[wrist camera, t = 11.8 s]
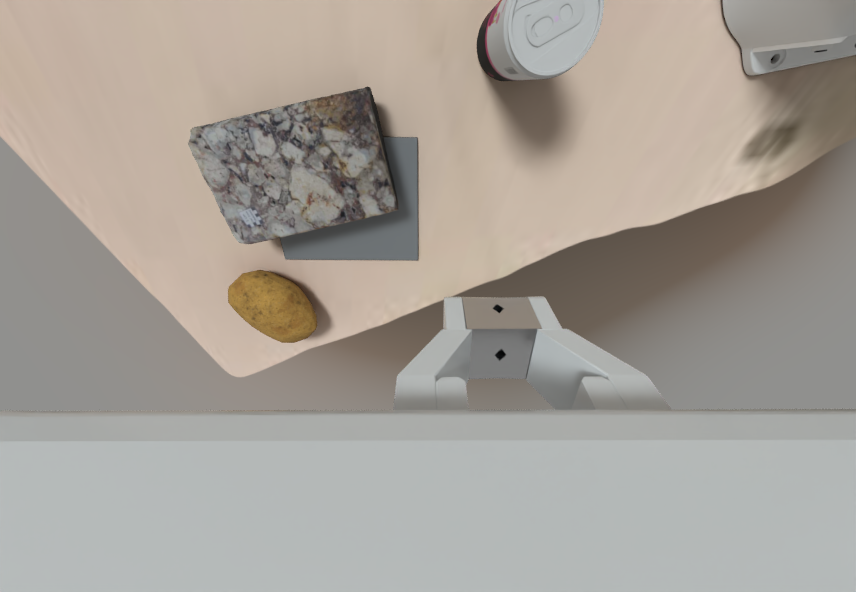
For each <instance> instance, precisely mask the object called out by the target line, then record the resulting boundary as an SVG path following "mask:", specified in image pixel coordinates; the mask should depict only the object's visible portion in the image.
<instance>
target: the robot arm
mask: <svg viewBox="0 0 856 592" xmlns="http://www.w3.org/2000/svg"><path fill="white" fill-rule="evenodd" d="M723 11H724V17H725V20H726V23H727V26H728V28H729V30H730V32H731V33H732V35H733V36H734V37H735V39H736V40H737V41H738V43H739V45H740V46H741V49H742V59H743V67H744V70H745V72H746V74H748V75H751V76H752V75H759V74H764V73H769V72H774V71H779V70H784V69H789V68H794V67H799V66H804V65H809V64H814V63H819V62H824V61H829V60H833V59H838V58H843V57H848V56H853V55H856V0H723ZM773 56H774V59H773V61H772V62H771V58H772V57H773ZM443 324H444V325H443V330H441V331H440V332H439V333H438V334H437V335H436V336H435V337H434V338H433V339H432V340H431V341H430V343H428V345H426V346H425V348H424V349H423V350H422V351H421V352H420V353H419V354H418V355H417V356H416V357H415V358H414V359H413V360H412V361H411V362H410V363H409V364H408V365H407V366H406V367H405V368H404V369H403V370H402V371H401V373H399V375H398V376H397V383H396V391H395V399H394V409H393V410H291V411H290V410H283V411H282V410H274V411H270V410H265V411H263V410H258V411H256V410H255V411H254V410H252V411H13V410H12V411H10V410H9V411H8V410H1V411H0V592H856V409H730V410H729V409H711V410H710V409H705V410H703V409H696V410H695V409H693V410H692V409H690V410H689V409H686V410H683V409H682V410H681V409H680V410H675V409H674V410H673V409H671V408H670V406H669V405H668V404H667V402H666V401H665V400H664V398H663V397H662V395H661V394H660V393H659V391H658V390H657V389H656V387H655V386H654V385H653V384H652V382H651V381H650V379H649V378H648V377H647V375H645V374H643V373H642V372H640V371H638V370H636V369H635V368H633V367H631V366H629V365H628V364H626V363H625V362H623V361H621V360H619V359H618V358H616V357H614V356H613V355H611V354H609V353H608V352H606V351H604V350H602V349H601V348H599V347H597V346H596V345H594V344H592V343H591V342H588V341H587V340H585V339H584V338H582V337H580V336H579V335H577V334H575V333H574V332H572V331H570V330H568V329H562V327H561V325H560V324H559V322H558V320H557V318H556V316H555V315H554V313H553V311H552V309H551V307H550V305H549V304H548V302H547V300H546V298H545V297H543V296H539V297H538V296H537V297H514V298H492V297H491V298H490V297H445V298H444V323H443ZM483 378H512V379H526V380H527V381H528V382H529V383H530V384H531V385H532V386H533V387H534V388H535V389H536V391H538V393H539V394H541V395H542V396H543V398H544V399H546V401H547V402H548V403H549V404H550V405H551V406H552V407H553V408H555V410H469V408H468V400H467V393H466V383H467V382H468V379H483Z"/></svg>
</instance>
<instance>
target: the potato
mask: <svg viewBox="0 0 856 592" xmlns="http://www.w3.org/2000/svg"><path fill="white" fill-rule="evenodd" d="M228 302H229V304H230V305H231V306H232V307H233V309H234V310H235V311H236V312H237V313H238V314H239V315H240V316H241V317H242V318H243V319H244V320H245V321H246V322H248V323H249V324H250V325H251V326H252V327H254V328H255V329H257V330H259V331H260V332H262V333H264V334H265V335H267V336H269V337H271V338H273V339H275V340H277V341H280V342H282V343H294V342H297V341H300V340H303V339H306V338H308V337H309V336H310V335H311V334H312V333H313V331H314V330H315V329H316V327H317V319H316V314H315V312H314V309H313V307H312V305H311V303H310V301H309V300H308V299H307V297H306V296H305V294H304V293H303V292H302V290H301V289H300V288H299V287H298V286H297V285H296V284H294V283H293V282H291V281H290V280H287V279H285V278H283V277H280V276H278V275H276V274H274V273H272V272H268V271H263V270H257V271H252V272H248V273H244V274H242V275H241V276H240V277H239V278H238V279H237V280H235V281H234V282H233V283H232V284H231V285H230V286H229V289H228Z"/></svg>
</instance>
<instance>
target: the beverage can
mask: <svg viewBox="0 0 856 592" xmlns="http://www.w3.org/2000/svg"><path fill="white" fill-rule="evenodd" d="M603 8H604V0H500V1H499V3H498V4H497V5H496V6H495V7H494V8H493V9H492V10H491V12H490V13H489V14H488V15H487V16H486V18H485V19H484V21H483V23H482V25H481V27H480V30H479V34H478V38H477V54H478V59H479V62H480V64H481V66H482V68H483V69H484V71H485V72H486V73H487V74H488V75H489V76H490V77H492V78H494V79H496V80H499V81H515V80H533V79H548V78H553V77H556V76H559V75H561V74H563V73H565V72H566V71H568V70H569V69H571V68H572V67H573V66H574V65H576V64H577V63H578V62H579V61H580V60H581V59H582V58H583V56H584V55H585V54H586V53H587V51H588V50H589V49H590V47H591V45H592V44H593V42H594V40H595V38H596V36H597V33H598V31H599V28H600V25H601V21H602V16H603Z"/></svg>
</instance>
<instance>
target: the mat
mask: <svg viewBox="0 0 856 592" xmlns="http://www.w3.org/2000/svg"><path fill="white" fill-rule="evenodd" d="M383 138H384V142H385V146H386V151H387V156H388V160H389V165H390V169H391V172H392V176H393V181H394V186H395V190H396V194H397V199H398V204H399V206H398V210H396V211H392V212H389V213H385V214H382V215H377V216H372V217H368V218H365V219H361V220H356V221H351V222H348V223H343V224H338V225H335V226H329V227H325V228H320V229H316V230H311V231H308V232H303V233H299V234H294V235H290V236H286V237H280V240H281V244H282V248H283V252H284V256H285V259H321V260H418V184H417V137H383Z"/></svg>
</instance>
